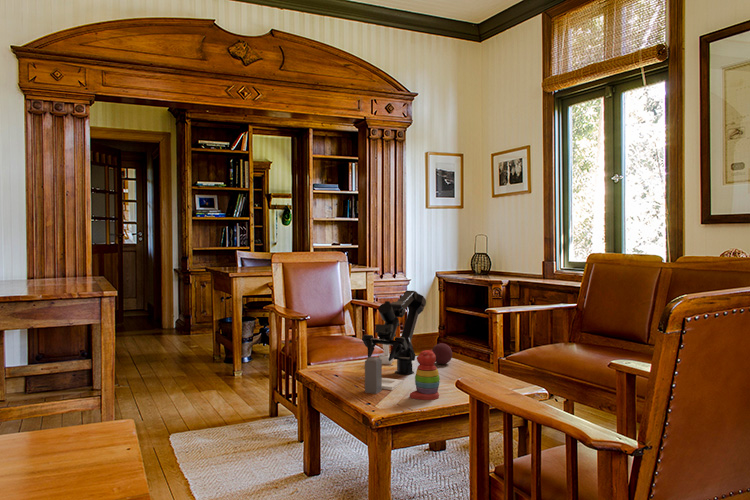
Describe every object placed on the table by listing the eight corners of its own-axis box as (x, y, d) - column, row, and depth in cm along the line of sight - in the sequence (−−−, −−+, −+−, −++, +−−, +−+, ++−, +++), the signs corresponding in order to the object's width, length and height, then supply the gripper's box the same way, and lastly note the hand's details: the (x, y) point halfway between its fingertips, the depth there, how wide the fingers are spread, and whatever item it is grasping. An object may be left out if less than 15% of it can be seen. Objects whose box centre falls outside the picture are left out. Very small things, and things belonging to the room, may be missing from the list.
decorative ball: (453, 366, 258) (453, 345, 258) (432, 366, 258) (432, 345, 258) (450, 361, 268) (450, 341, 268) (430, 361, 268) (430, 341, 268)
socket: (365, 386, 223) (365, 383, 223) (377, 379, 234) (377, 377, 234) (392, 390, 218) (392, 387, 218) (403, 382, 229) (403, 380, 228)
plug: (364, 392, 214) (364, 358, 214) (370, 389, 219) (370, 356, 219) (376, 394, 212) (376, 360, 212) (381, 390, 217) (381, 357, 217)
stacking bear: (423, 391, 216) (423, 346, 216) (445, 395, 210) (445, 349, 209) (407, 397, 208) (407, 350, 208) (429, 402, 201) (429, 354, 201)
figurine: (391, 360, 271) (391, 330, 271) (395, 365, 261) (395, 333, 261) (377, 361, 270) (377, 331, 270) (380, 365, 260) (380, 334, 260)
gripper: (363, 315, 229) (351, 346, 219) (405, 317, 221) (394, 349, 211) (371, 331, 236) (360, 361, 226) (412, 334, 228) (402, 366, 218)
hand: (378, 359), depth 220 cm, fingers open, 9 cm apart
